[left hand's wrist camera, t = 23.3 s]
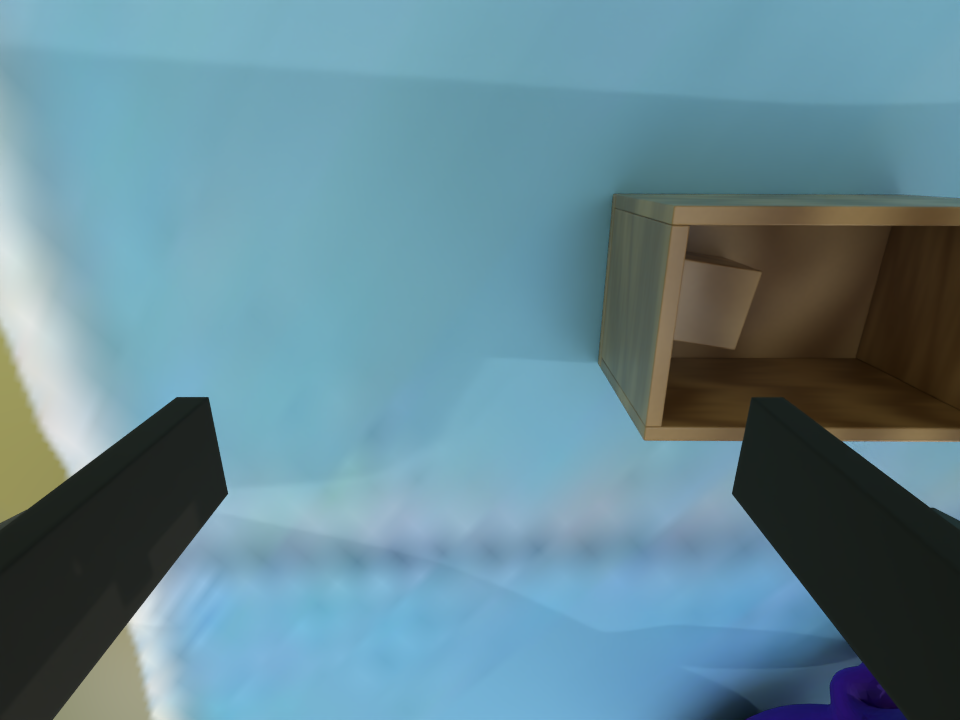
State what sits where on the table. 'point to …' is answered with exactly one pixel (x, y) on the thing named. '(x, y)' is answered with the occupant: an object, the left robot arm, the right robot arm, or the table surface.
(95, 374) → the table surface
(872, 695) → the toy
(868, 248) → the chest
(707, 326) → the block
